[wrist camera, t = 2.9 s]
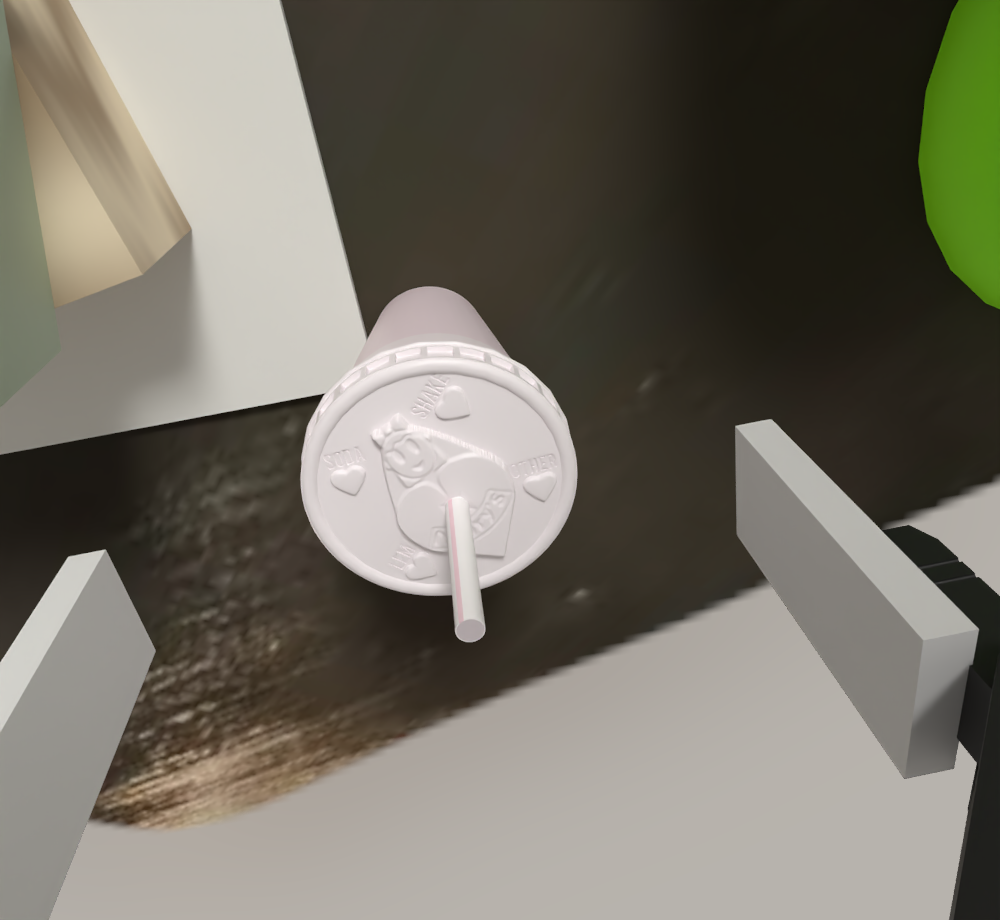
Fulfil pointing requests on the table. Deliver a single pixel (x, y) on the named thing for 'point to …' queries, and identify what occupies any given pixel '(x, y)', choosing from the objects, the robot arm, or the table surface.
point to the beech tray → (85, 158)
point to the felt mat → (205, 236)
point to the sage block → (20, 248)
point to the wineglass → (965, 147)
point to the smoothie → (437, 458)
